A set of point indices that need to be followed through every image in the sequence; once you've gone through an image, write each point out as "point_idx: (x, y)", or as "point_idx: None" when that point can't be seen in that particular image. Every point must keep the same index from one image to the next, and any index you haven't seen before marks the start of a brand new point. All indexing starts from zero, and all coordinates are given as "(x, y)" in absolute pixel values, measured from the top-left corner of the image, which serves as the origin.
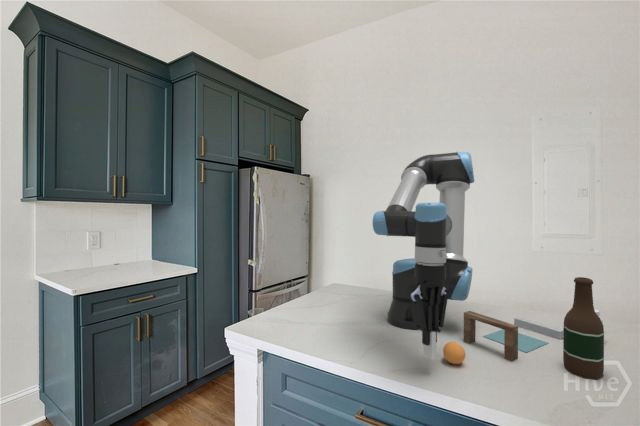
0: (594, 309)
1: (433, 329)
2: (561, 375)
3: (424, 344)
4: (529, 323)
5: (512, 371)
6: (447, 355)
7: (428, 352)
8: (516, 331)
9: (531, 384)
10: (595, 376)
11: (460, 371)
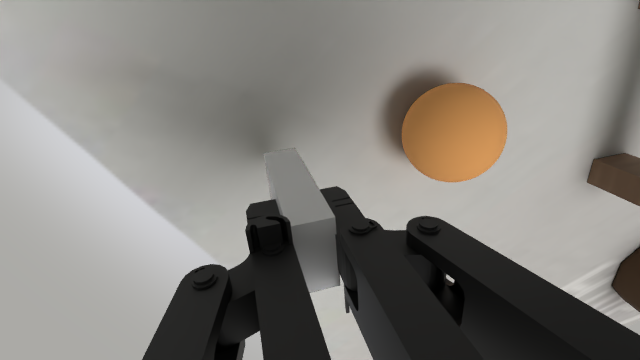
0: None
1: (341, 276)
2: (591, 268)
3: (272, 186)
4: None
5: (525, 224)
6: (406, 142)
7: (272, 197)
8: None
9: None
10: (626, 301)
11: (392, 177)
